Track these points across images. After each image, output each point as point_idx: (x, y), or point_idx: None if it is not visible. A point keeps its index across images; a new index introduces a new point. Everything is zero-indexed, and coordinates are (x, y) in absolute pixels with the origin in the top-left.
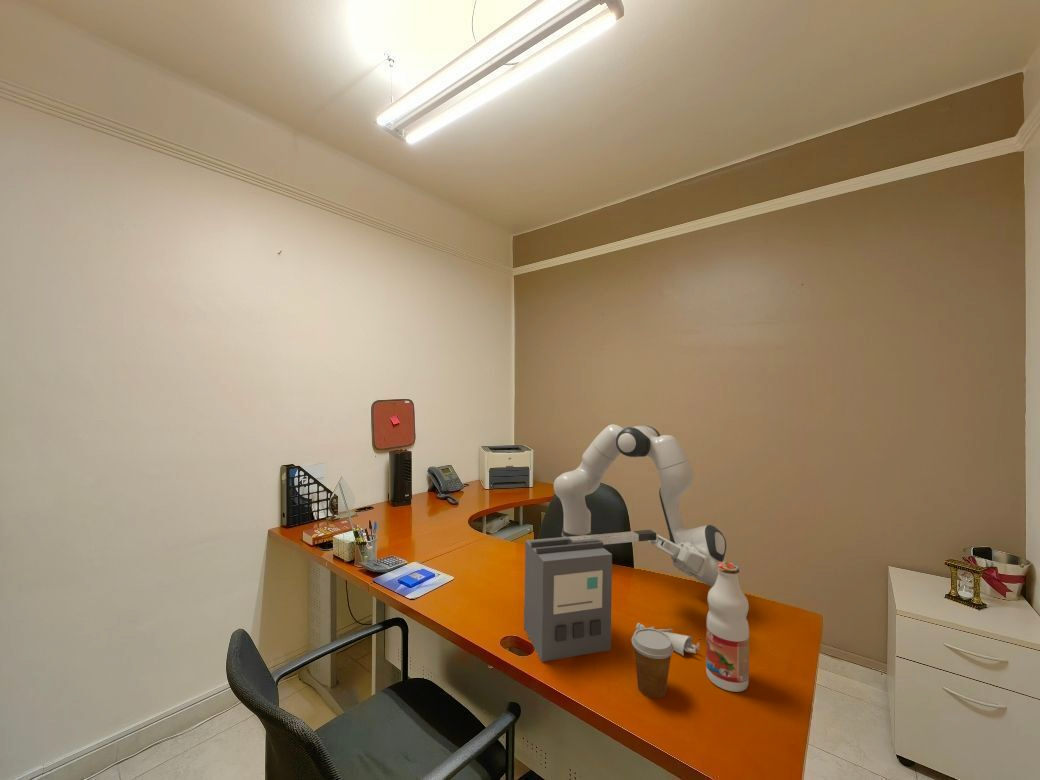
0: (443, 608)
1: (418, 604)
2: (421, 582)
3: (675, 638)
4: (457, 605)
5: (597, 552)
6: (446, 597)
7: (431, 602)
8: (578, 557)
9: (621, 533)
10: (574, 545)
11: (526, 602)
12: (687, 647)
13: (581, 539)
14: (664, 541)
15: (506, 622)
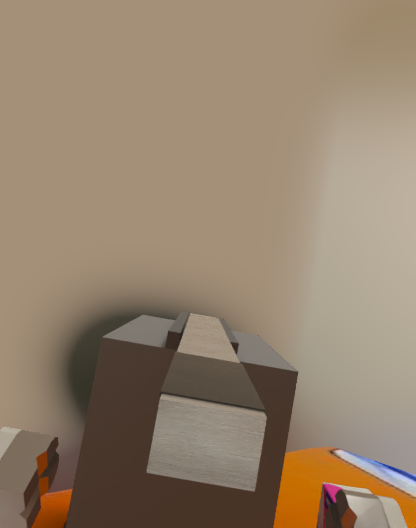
0: (306, 467)
1: (316, 453)
2: (393, 469)
3: None
4: (317, 481)
5: (136, 335)
6: (344, 478)
7: (324, 463)
8: (129, 323)
9: (216, 343)
10: (176, 319)
11: None
12: None
13: (190, 315)
14: (30, 434)
15: None
